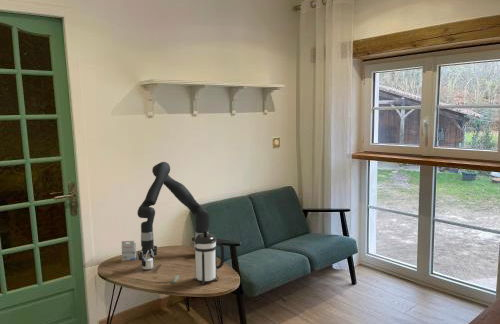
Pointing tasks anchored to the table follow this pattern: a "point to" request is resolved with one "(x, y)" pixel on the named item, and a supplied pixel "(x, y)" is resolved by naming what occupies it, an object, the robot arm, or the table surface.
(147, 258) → the cap
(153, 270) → the post base
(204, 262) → the coffee press
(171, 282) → the sage mat
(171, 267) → the table surface
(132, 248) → the ink box
